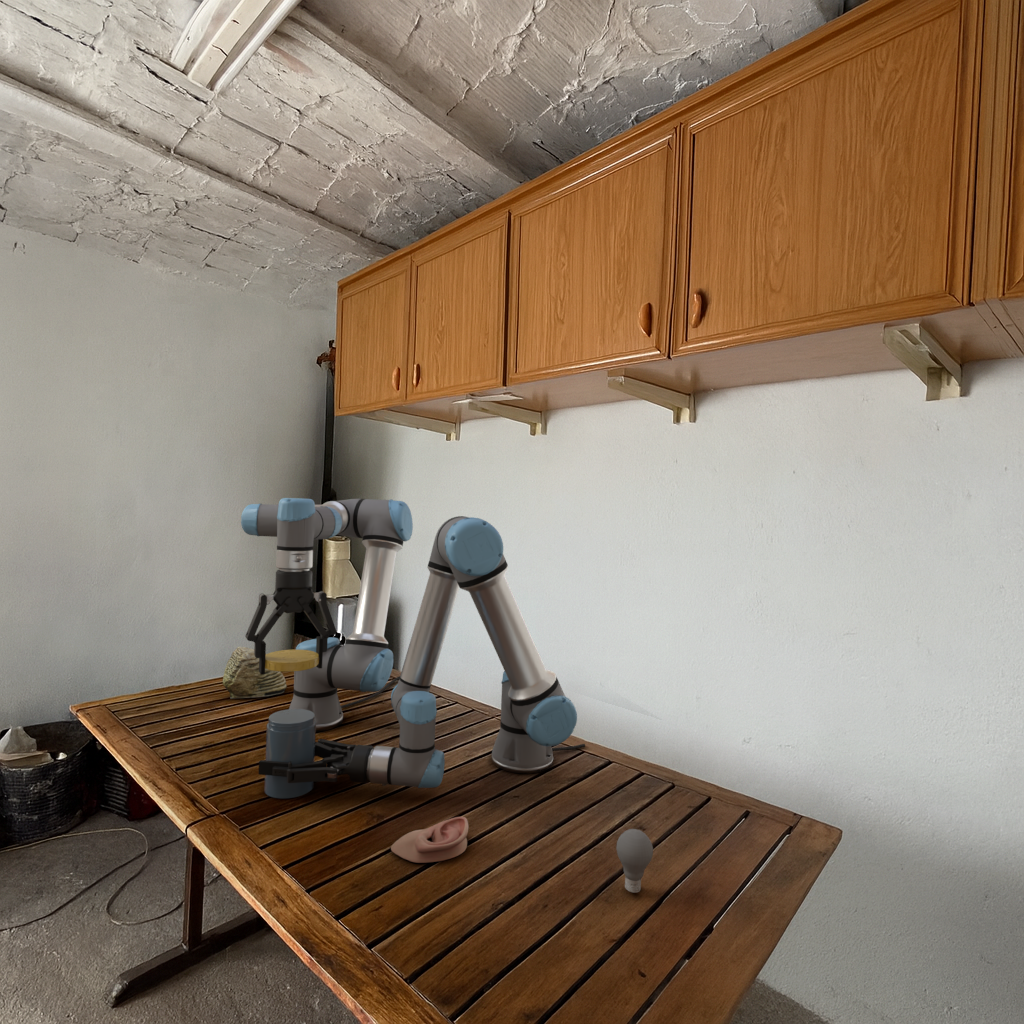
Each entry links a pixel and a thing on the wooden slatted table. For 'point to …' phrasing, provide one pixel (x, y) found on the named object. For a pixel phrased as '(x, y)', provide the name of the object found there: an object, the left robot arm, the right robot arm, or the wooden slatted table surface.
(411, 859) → the anatomical model
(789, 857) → the wooden slatted table surface
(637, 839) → the light bulb
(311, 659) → the lid
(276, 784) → the jar
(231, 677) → the fossil
